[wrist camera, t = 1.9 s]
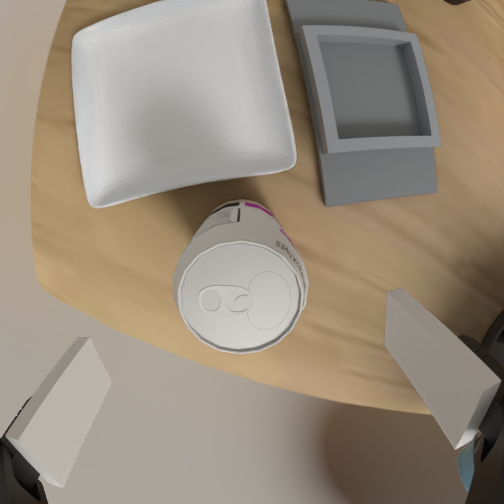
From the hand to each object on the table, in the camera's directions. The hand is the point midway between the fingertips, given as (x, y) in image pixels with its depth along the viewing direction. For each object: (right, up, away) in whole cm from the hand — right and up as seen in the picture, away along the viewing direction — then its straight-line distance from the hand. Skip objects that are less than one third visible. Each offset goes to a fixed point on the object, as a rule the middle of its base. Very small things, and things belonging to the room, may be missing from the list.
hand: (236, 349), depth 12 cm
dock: (+13, +21, +15) cm, 29 cm away
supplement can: (0, +5, +19) cm, 20 cm away
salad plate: (-7, +21, +15) cm, 26 cm away
